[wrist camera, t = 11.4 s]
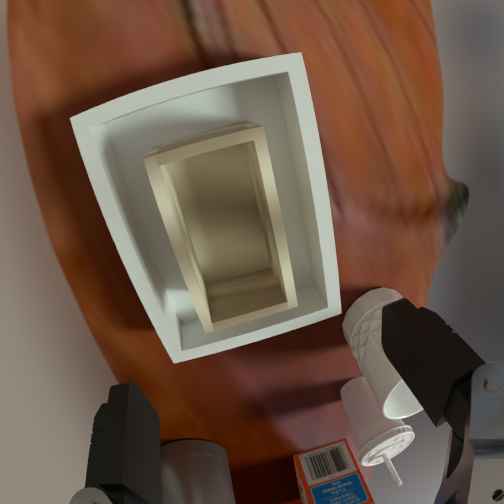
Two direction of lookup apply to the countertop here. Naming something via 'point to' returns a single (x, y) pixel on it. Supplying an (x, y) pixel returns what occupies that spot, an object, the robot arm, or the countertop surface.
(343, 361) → the countertop surface
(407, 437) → the smoothie
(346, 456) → the orange cereal box
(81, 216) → the countertop surface
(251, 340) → the white crate
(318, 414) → the countertop surface
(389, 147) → the countertop surface
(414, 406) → the white cup
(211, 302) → the birch crate
